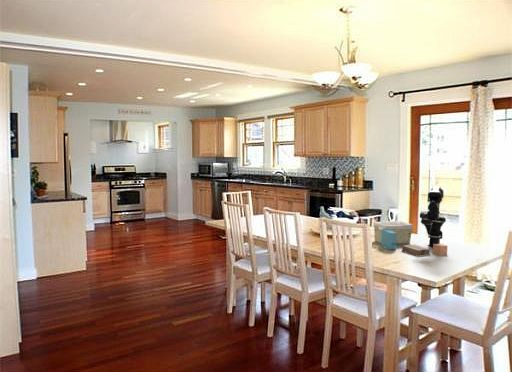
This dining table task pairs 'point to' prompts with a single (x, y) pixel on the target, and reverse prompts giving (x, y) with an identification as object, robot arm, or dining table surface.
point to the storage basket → (394, 230)
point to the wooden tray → (416, 250)
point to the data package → (389, 239)
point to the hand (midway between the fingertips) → (432, 233)
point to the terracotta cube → (440, 249)
